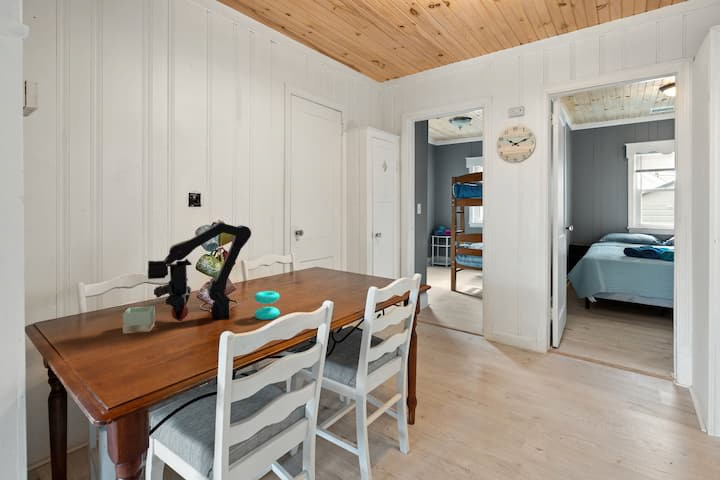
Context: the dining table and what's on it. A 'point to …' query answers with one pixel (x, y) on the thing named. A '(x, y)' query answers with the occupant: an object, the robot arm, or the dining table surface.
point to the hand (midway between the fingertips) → (179, 316)
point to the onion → (184, 314)
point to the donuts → (267, 312)
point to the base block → (138, 328)
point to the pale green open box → (138, 316)
